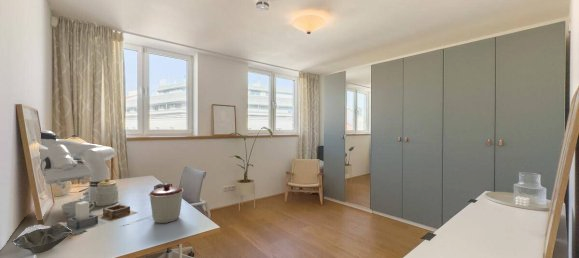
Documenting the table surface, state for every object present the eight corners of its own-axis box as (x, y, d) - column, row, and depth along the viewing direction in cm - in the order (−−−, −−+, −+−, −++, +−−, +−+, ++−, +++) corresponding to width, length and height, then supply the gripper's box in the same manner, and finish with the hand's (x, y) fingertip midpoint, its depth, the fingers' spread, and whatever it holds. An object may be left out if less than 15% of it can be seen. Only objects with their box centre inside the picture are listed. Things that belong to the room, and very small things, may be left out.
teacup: (62, 222, 135) (62, 208, 135) (60, 216, 143) (60, 203, 143) (96, 214, 146) (96, 201, 146) (92, 210, 154) (92, 197, 154)
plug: (75, 225, 128) (75, 203, 128) (84, 222, 132) (84, 200, 132) (80, 227, 126) (80, 204, 126) (89, 224, 130) (89, 202, 130)
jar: (98, 201, 172) (98, 177, 171) (120, 199, 177) (120, 175, 177) (92, 207, 160) (92, 181, 160) (116, 204, 165) (116, 179, 165)
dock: (56, 228, 126) (56, 219, 126) (90, 218, 140) (90, 210, 140) (73, 235, 119) (73, 225, 119) (107, 224, 132) (107, 215, 132)
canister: (144, 228, 127) (143, 188, 127) (153, 215, 145) (153, 181, 144) (181, 224, 132) (180, 186, 132) (186, 212, 149) (185, 179, 149)
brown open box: (94, 217, 142) (94, 209, 142) (121, 209, 155) (121, 202, 155) (111, 223, 134) (111, 214, 134) (138, 214, 147) (138, 206, 147)
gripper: (42, 165, 127) (51, 186, 123) (88, 160, 145) (97, 178, 141) (38, 173, 129) (47, 193, 125) (84, 167, 147) (93, 185, 143)
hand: (74, 185), depth 133 cm, fingers open, 8 cm apart
